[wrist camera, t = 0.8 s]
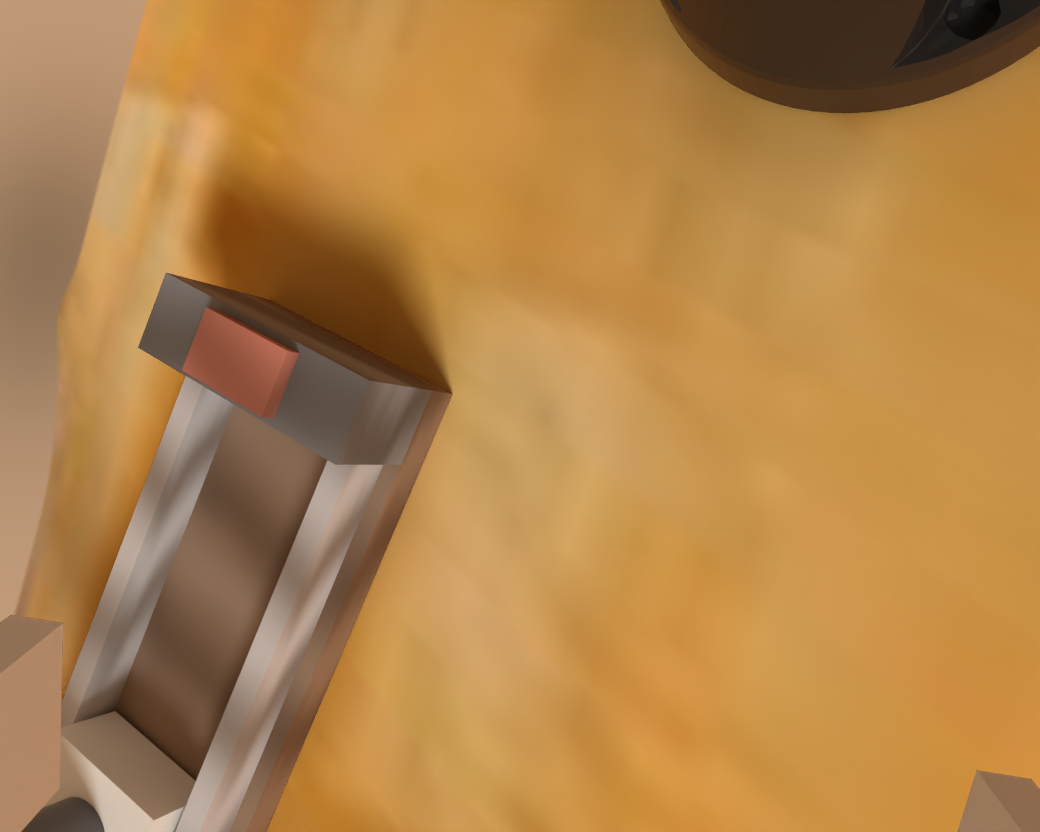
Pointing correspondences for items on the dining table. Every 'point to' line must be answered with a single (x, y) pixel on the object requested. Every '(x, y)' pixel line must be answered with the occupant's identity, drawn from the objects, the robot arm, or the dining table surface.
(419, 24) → the dining table surface
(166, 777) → the grey joystick lever
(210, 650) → the rail bed
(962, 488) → the dining table surface
